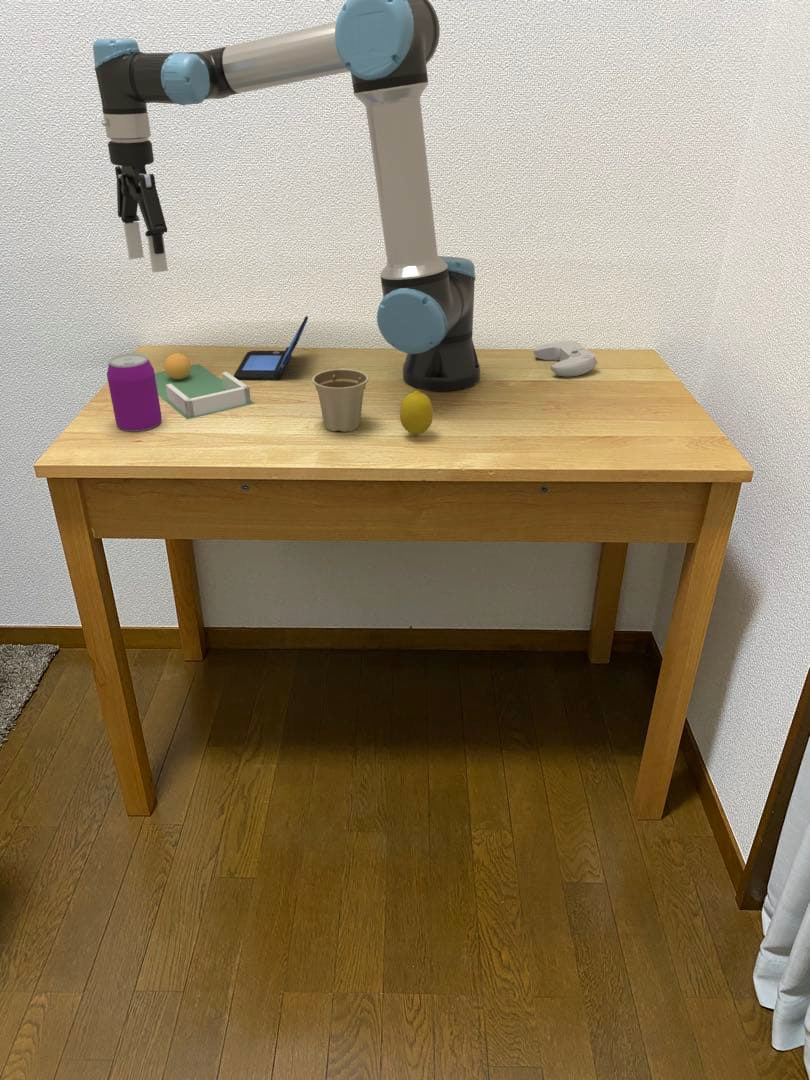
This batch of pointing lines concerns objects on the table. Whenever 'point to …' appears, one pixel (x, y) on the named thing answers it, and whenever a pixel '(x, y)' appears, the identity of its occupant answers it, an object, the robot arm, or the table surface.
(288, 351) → the handheld game console
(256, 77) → the robot arm
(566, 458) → the table surface
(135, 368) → the beverage can
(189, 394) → the putting mat
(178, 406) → the white u-shaped frame
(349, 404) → the flower pot
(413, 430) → the lemon
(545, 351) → the game controller
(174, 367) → the orange ball
